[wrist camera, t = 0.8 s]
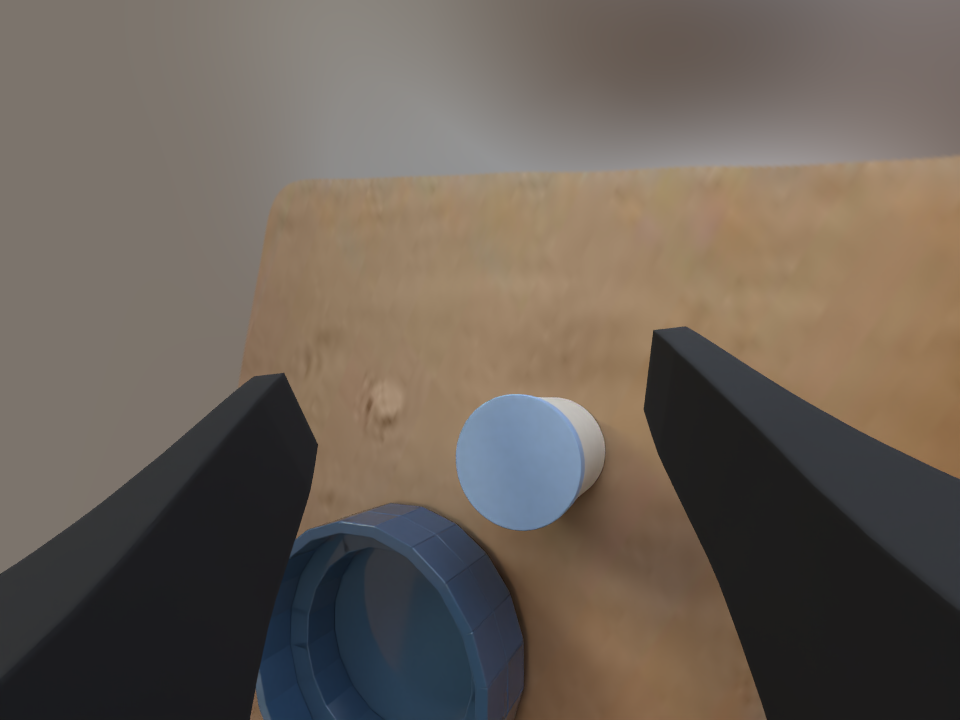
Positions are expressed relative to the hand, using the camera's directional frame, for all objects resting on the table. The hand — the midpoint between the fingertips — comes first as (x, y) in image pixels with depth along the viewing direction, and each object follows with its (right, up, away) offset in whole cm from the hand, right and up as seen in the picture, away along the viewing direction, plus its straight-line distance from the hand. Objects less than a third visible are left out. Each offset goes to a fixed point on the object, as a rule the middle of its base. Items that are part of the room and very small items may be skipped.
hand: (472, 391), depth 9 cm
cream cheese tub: (+4, -4, +15) cm, 16 cm away
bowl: (-4, -15, +18) cm, 23 cm away
